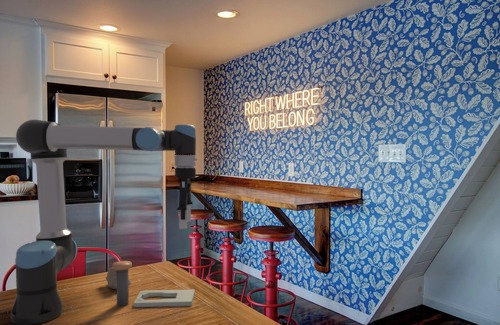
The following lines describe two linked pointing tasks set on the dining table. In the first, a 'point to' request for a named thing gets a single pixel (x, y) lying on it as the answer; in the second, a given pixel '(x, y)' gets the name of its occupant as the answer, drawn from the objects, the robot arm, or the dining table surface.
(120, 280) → the peg
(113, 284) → the decorative stone
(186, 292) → the keyhole board
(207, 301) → the dining table surface
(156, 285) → the dining table surface
